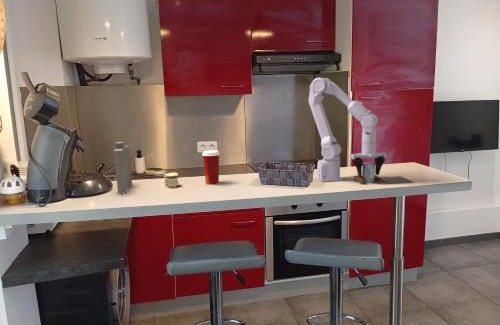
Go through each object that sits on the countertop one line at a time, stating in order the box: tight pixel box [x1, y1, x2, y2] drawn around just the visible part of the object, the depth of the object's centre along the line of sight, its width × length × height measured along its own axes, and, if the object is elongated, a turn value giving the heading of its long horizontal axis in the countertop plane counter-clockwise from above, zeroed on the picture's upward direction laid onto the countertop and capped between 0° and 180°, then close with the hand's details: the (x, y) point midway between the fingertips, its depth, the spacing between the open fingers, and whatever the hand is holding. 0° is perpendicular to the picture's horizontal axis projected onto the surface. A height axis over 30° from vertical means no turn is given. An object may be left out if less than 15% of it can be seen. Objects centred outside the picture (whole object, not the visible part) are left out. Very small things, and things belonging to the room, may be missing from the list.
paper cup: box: [201, 150, 220, 185], centre depth 177 cm, size 8×8×14 cm
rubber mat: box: [379, 175, 414, 185], centre depth 172 cm, size 11×11×1 cm
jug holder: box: [353, 174, 383, 185], centre depth 171 cm, size 9×8×2 cm
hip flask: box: [113, 141, 133, 194], centre depth 170 cm, size 16×4×20 cm, turn 5°
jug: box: [362, 161, 376, 184], centre depth 169 cm, size 5×7×8 cm
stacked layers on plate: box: [163, 172, 179, 188], centre depth 174 cm, size 10×9×6 cm
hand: (368, 175), depth 170 cm, fingers open, 7 cm apart
